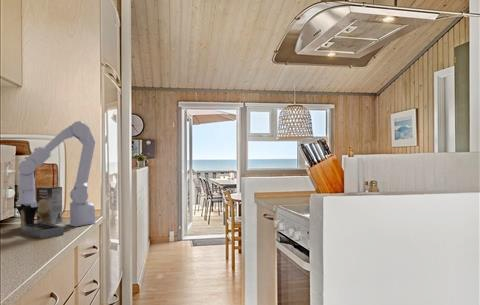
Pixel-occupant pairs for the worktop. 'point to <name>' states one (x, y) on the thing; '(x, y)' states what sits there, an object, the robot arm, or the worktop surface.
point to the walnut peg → (23, 219)
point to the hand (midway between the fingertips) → (27, 223)
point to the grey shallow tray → (42, 230)
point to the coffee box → (49, 204)
